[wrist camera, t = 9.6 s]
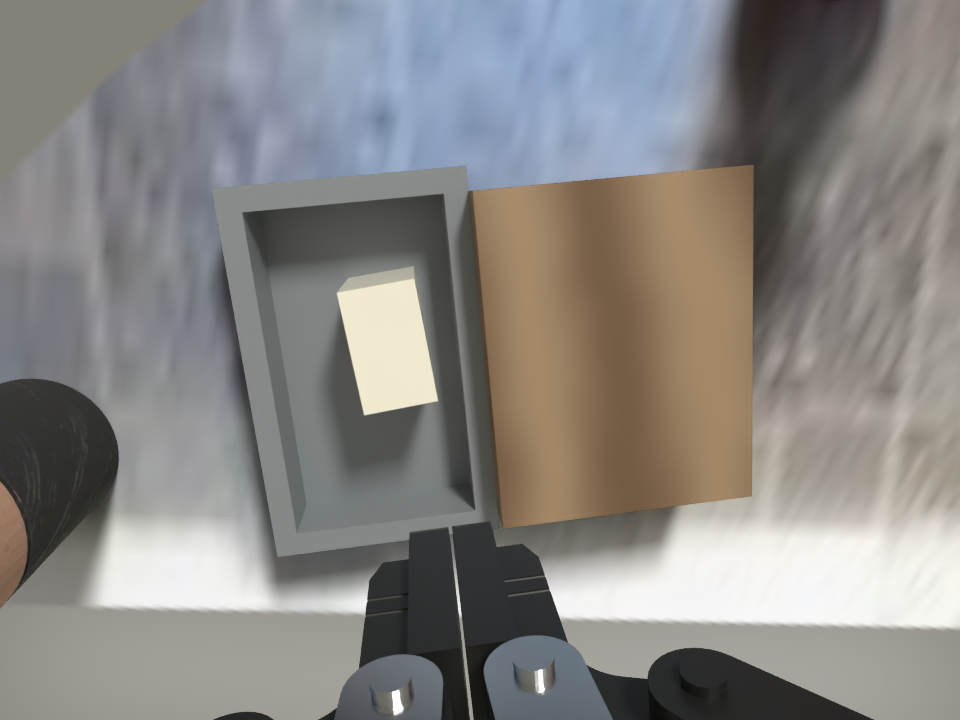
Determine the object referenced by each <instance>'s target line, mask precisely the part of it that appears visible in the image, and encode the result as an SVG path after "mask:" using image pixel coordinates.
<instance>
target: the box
mask: <svg viewBox="0 0 960 720" xmlns="http://www.w3.org/2000/svg"><path fill="white" fill-rule="evenodd" d="M212 194H213V199H214V205H215V211H216V216H217V222H218V227H219V233H220V239H221V244H222V250H223V255H224V261H225V266H226V272H227V278H228V283H229V289H230V294H231V300H232V306H233V311H234V317H235V322H236V328H237V334H238V339H239V345H240V350H241V356H242V361H243V367H244V373H245V378H246V384H247V389H248V395H249V401H250V406H251V412H252V417H253V423H254V428H255V434H256V440H257V445H258V451H259V456H260V462H261V468H262V473H263V479H264V484H265V490H266V495H267V501H268V507H269V512H270V518H271V523H272V529H273V535H274V540H275V546H276V551H277V557H282V556H290V555H298V554H305V553H313V552H321V551H328V550H336V549H344V548H351V547H359V546H366V545H374V544H382V543H389V542H397V541H405V540H409V533H410V532H413V531H420V530H428V529H436V528H443V527H448V528H449V535H450V534H453V532H452V526H457V525H465V524H473V523H480V522H488V521H490V522H491V526H492V529H496V528H499V520H498V509H497V498H496V487H495V476H494V465H493V454H492V443H491V433H490V422H489V411H488V400H487V389H486V378H485V367H484V356H483V345H482V335H481V324H480V313H479V302H478V291H477V280H476V269H475V258H474V247H473V237H472V226H471V215H470V204H469V193H468V182H467V171H466V166H458V167H447V168H436V169H425V170H414V171H403V172H392V173H381V174H370V175H359V176H348V177H336V178H325V179H314V180H303V181H292V182H281V183H270V184H259V185H248V186H237V187H226V188H214V189H212ZM412 266H414V271H415V276H416V281H417V286H418V292H419V297H420V302H421V307H422V312H423V317H424V322H425V328H426V333H427V338H428V343H429V348H430V353H431V359H432V364H433V369H434V375H435V382H436V390H437V397H438V401H436V402H431V403H426V404H420V405H415V406H410V407H405V408H400V409H395V410H389V411H384V412H379V413H374V414H369V415H364V412H363V408H362V403H361V399H360V395H359V390H358V386H357V381H356V377H355V372H354V368H353V363H352V359H351V354H350V350H349V345H348V341H347V337H346V332H345V328H344V323H343V319H342V314H341V310H340V305H339V301H338V296H337V292H338V291H339V289H340V288H341V287H342V285H343V284H344V283H345V281H346V280H347V279H348V278H351V277H357V276H362V275H368V274H373V273H379V272H384V271H390V270H395V269H401V268H406V267H412Z"/></svg>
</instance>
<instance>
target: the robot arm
mask: <svg viewBox="0 0 960 720" xmlns="http://www.w3.org/2000/svg"><path fill="white" fill-rule="evenodd" d="M452 532H453V541H454V550H455V559H456V568H457V577H458V585H459V594H460V603H461V612H462V621H463V630H464V639H465V647H466V656H467V665H468V674H469V682H470V691H471V699H472V708H473V717H474V720H873V719H871V718H869V717H867V716H864V715H862V714H860V713H858V712H855V711H853V710H851V709H849V708H846V707H844V706H842V705H839V704H837V703H835V702H833V701H830V700H828V699H826V698H824V697H822V696H819V695H817V694H815V693H813V692H810V691H808V690H806V689H803V688H801V687H799V686H797V685H795V684H792V683H790V682H788V681H785V680H783V679H781V678H779V677H777V676H774V675H772V674H770V673H767V672H765V671H763V670H761V669H759V668H756V667H754V666H752V665H750V664H747V663H745V662H743V661H741V660H738V659H736V658H734V657H732V656H729V655H727V654H724V653H722V652H718V651H714V650H710V649H703V648H684V649H679V650H675V651H672V652H669V653H667V654H665V655H663V656H661V657H660V658H658V659H657V660H656V661H655V662H654V663H653V664H652V666H651V668H650V670H649V673H648V679H641V678H631V677H621V676H614V675H610V674H606V673H603V672H600V671H597V670H595V669H593V668H591V667H589V666H587V665H586V663H585V661H584V659H583V657H582V656H581V654H580V653H579V652H578V650H577V649H576V648H575V647H573V646H572V645H570V644H569V643H568V641H567V639H566V635H565V633H564V630H563V627H562V624H561V621H560V618H559V615H558V612H557V609H556V606H555V604H554V601H553V598H552V595H551V592H550V591H549V586H548V583H547V580H546V577H545V576H544V572H543V569H542V566H541V563H540V560H539V557H538V556H536V555H535V554H534V553H533V552H531V551H530V550H529V549H528V548H526V547H525V546H524V545H523V544H519V545H511V546H504V547H496V543H495V539H494V535H493V530H492V526H491V522H490V521H488V522H480V523H473V524H465V525H457V526H452ZM367 599H368V602H367V606H366V618H365V623H364V631H363V639H362V648H361V657H360V664H359V669H358V670H357V671H356V672H355V673H354V674H352V676H351V677H350V678H349V679H348V680H347V681H346V683H345V685H344V686H343V689H342V691H341V694H340V698H339V703H338V706H337V708H336V709H335V710H333V711H332V712H331V713H329V714H328V715H326V716H324V717H322V718H321V719H319V720H470V716H469V707H468V698H467V688H466V678H465V669H464V659H463V650H462V640H461V631H460V622H459V613H458V604H457V596H456V587H455V579H454V570H453V562H452V553H451V544H450V536H449V528H448V527H443V528H436V529H428V530H420V531H413V532H410V533H409V559H408V560H401V561H393V562H386V563H383V564H382V565H381V566H380V567H379V569H378V570H377V571H376V573H375V574H374V575H373V576H372V578H371V579H370V581H369V589H368V598H367ZM214 720H273V719H272V718H270V717H269V716H267V715H264V714H261V713H256V712H239V713H233V714H229V715H225V716H222V717H219V718H216V719H214Z"/></svg>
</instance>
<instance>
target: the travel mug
mask: <svg viewBox="0 0 960 720" xmlns="http://www.w3.org/2000/svg"><path fill="white" fill-rule="evenodd" d="M117 465H118V446H117V441H116V437H115V434H114V431H113V429H112V427H111V425H110V423H109V421H108V420H107V418H106V417H105V415H104V414H103V413H102V411H101V410H100V409H99V408H98V407H97V406H96V405H95V404H94V403H93V402H92V401H91V400H90V399H88V398H87V397H86V396H84V395H83V394H81V393H80V392H78V391H76V390H74V389H72V388H70V387H68V386H66V385H63V384H60V383H57V382H53V381H48V380H42V379H19V380H13V381H9V382H5V383H2V384H0V608H1V607H2V606H3V605H4V604H5V603H6V601H8V600H9V599H10V597H11V596H12V595H13V594H14V593H15V592H16V591H17V590H18V589H19V588H20V587H21V586H22V584H23V583H24V582H25V581H26V580H27V579H28V578H29V577H30V576H31V575H32V574H33V573H34V571H35V570H36V569H37V568H38V567H39V566H40V565H41V564H42V563H43V562H44V561H45V560H46V558H47V557H48V556H49V555H50V554H51V553H52V552H53V551H54V550H55V549H56V548H57V547H58V546H59V544H60V543H61V542H62V541H63V540H64V539H65V538H66V537H67V536H68V535H69V534H70V533H71V531H72V530H73V529H74V528H75V527H76V526H77V525H78V524H79V523H80V522H81V521H82V520H83V518H84V517H85V516H86V515H87V514H88V513H89V512H90V511H91V510H92V509H93V507H94V506H95V505H96V504H97V503H98V502H99V501H100V499H101V498H102V497H103V496H104V495H105V493H106V492H107V490H108V489H109V487H110V486H111V484H112V481H113V479H114V477H115V473H116V470H117Z"/></svg>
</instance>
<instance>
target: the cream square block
mask: <svg viewBox="0 0 960 720" xmlns="http://www.w3.org/2000/svg"><path fill="white" fill-rule="evenodd" d="M337 296H338V301H339V305H340V310H341V314H342V319H343V323H344V328H345V332H346V337H347V341H348V345H349V350H350V354H351V359H352V363H353V368H354V372H355V377H356V381H357V386H358V390H359V395H360V399H361V403H362V408H363V412H364V415H369V414H374V413H379V412H384V411H389V410H395V409H400V408H405V407H410V406H415V405H420V404H426V403H431V402H436V401H438V397H437V390H436V382H435V375H434V369H433V364H432V359H431V353H430V348H429V343H428V338H427V333H426V328H425V322H424V317H423V312H422V307H421V302H420V297H419V292H418V286H417V281H416V276H415V271H414V266H412V267H406V268H401V269H395V270H390V271H384V272H379V273H373V274H368V275H362V276H357V277H351V278H348V279H347V280H346V281H345V283H344V284H343V285H342V287H341V288H340V289H339V291H338V292H337Z"/></svg>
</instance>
